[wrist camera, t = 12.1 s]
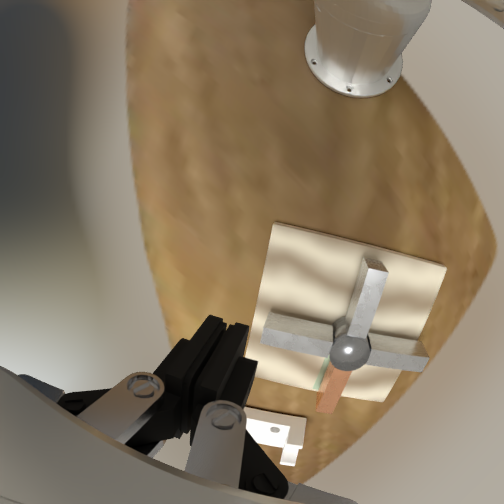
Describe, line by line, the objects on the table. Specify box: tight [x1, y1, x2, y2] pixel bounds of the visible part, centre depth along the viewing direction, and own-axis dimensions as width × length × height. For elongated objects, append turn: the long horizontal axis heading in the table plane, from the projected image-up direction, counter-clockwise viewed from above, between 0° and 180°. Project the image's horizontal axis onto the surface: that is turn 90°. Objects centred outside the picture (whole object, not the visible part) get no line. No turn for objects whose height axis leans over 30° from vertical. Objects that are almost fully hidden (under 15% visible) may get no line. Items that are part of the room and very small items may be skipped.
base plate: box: [245, 222, 447, 402], centre depth 38 cm, size 24×24×2 cm
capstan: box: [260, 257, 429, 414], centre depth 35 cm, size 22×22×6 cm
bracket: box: [244, 407, 306, 466], centre depth 44 cm, size 13×7×8 cm, turn 84°
